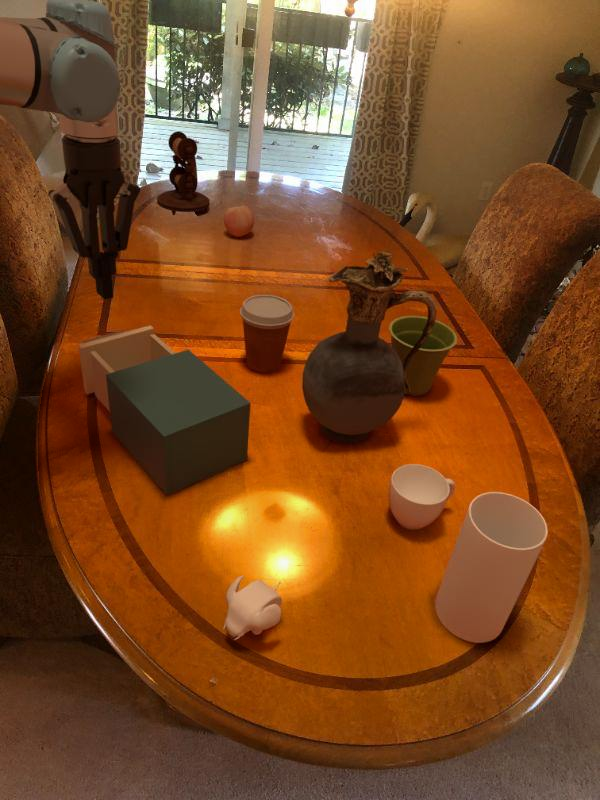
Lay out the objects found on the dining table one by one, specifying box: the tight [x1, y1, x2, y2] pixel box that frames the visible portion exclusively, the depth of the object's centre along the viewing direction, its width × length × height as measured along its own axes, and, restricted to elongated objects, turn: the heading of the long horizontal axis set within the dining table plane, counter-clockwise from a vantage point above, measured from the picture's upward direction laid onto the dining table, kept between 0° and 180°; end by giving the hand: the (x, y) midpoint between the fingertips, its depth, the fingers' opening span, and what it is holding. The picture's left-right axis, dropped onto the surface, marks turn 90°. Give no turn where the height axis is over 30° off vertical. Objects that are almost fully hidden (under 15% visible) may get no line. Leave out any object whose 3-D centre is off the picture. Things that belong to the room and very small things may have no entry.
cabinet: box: [106, 349, 251, 497], centre depth 90 cm, size 17×14×11 cm
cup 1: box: [388, 463, 456, 531], centre depth 84 cm, size 8×10×7 cm
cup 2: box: [434, 491, 549, 644], centre depth 69 cm, size 8×8×16 cm
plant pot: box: [388, 315, 458, 396], centre depth 110 cm, size 12×12×11 cm
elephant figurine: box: [223, 575, 283, 641], centre depth 68 cm, size 7×8×6 cm
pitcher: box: [301, 251, 438, 444], centre depth 92 cm, size 11×19×30 cm, turn 104°
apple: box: [223, 204, 255, 238], centre depth 162 cm, size 8×8×8 cm
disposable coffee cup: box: [239, 294, 295, 374], centre depth 111 cm, size 10×10×12 cm
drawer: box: [78, 324, 176, 413], centre depth 98 cm, size 21×12×9 cm, turn 40°
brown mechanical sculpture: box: [156, 131, 211, 216], centre depth 171 cm, size 15×15×20 cm
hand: (104, 294), depth 97 cm, fingers closed
